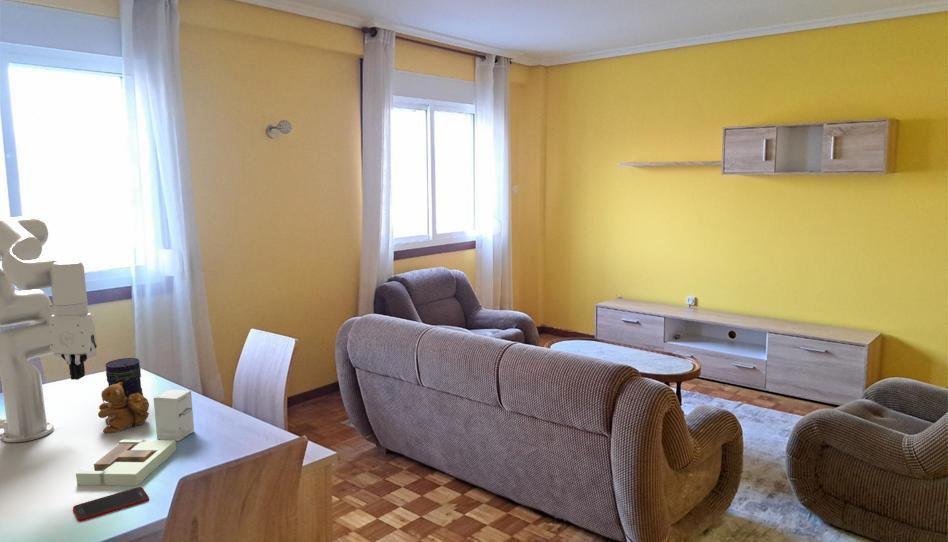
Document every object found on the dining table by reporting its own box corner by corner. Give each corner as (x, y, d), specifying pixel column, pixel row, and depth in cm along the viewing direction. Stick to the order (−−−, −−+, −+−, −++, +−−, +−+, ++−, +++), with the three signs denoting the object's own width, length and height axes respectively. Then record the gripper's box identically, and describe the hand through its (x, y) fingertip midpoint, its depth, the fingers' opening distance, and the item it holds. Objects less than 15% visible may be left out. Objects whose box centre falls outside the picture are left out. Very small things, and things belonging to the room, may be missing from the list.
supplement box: (179, 441, 190) (175, 399, 188) (156, 439, 192) (152, 397, 190) (195, 431, 197) (191, 390, 195) (172, 429, 199) (169, 388, 197)
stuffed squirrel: (104, 422, 205) (100, 380, 203) (155, 416, 209) (151, 375, 207) (96, 434, 196) (91, 391, 193) (149, 428, 200) (145, 386, 197)
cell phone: (72, 510, 154) (71, 506, 154) (141, 489, 163) (141, 485, 163) (78, 523, 148) (78, 519, 148) (150, 501, 158) (150, 498, 157)
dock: (77, 484, 165) (75, 473, 165) (122, 450, 185) (121, 439, 185) (136, 485, 165) (135, 474, 164) (176, 450, 184) (175, 440, 184)
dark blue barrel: (106, 406, 218) (101, 362, 215) (138, 399, 224) (134, 356, 222) (114, 415, 211) (109, 369, 208) (148, 407, 217) (143, 362, 215)
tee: (95, 477, 169) (93, 464, 169) (120, 456, 181) (118, 444, 181) (138, 476, 169) (137, 463, 169) (161, 455, 181) (159, 443, 181)
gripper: (32, 312, 169) (40, 382, 172) (89, 313, 168) (96, 383, 171) (53, 305, 176) (60, 372, 180) (108, 306, 175) (114, 374, 179)
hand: (77, 377), depth 175 cm, fingers closed
